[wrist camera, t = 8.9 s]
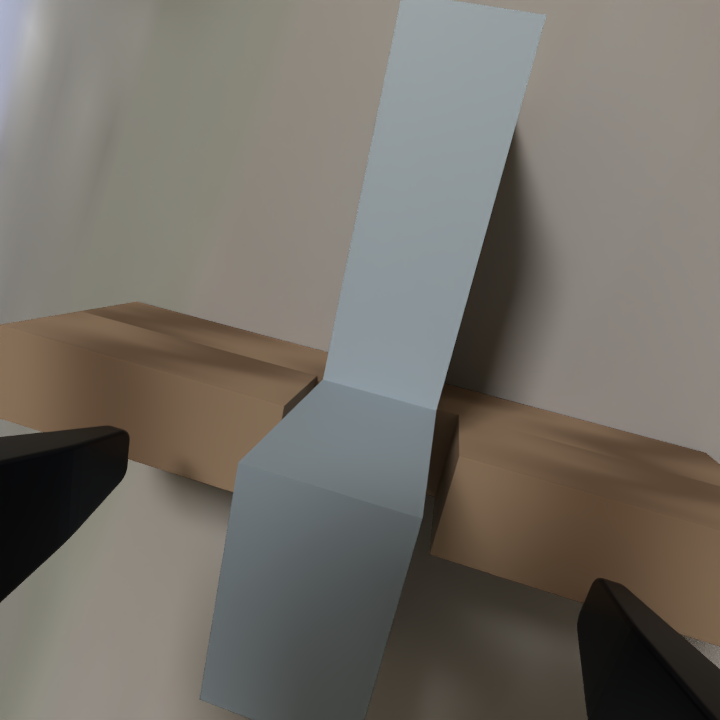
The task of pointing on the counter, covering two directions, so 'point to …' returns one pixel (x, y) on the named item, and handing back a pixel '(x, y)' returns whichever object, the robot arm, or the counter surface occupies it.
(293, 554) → the pale blue collared bar
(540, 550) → the walnut slotted plate
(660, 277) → the counter surface
